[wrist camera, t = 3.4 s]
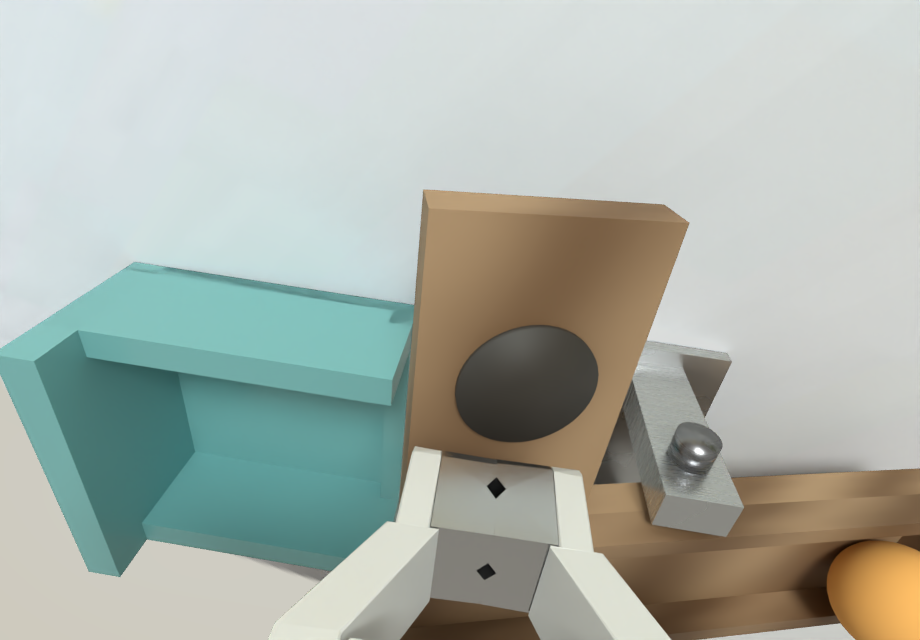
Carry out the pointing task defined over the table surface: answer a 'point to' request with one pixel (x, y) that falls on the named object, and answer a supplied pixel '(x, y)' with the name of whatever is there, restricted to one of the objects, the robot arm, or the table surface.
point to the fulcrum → (674, 441)
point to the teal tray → (216, 415)
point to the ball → (877, 590)
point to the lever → (606, 414)
